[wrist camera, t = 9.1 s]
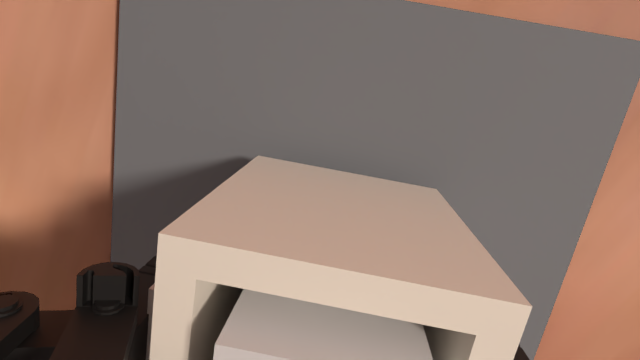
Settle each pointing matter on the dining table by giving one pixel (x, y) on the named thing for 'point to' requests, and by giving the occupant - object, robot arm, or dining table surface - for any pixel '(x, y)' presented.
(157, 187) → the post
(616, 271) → the dining table surface
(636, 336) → the dining table surface
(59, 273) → the dining table surface
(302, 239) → the cream square sleeve
